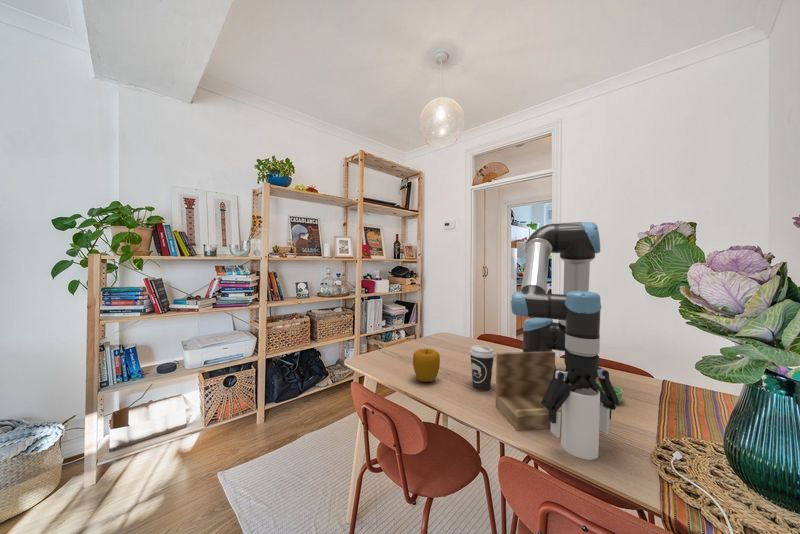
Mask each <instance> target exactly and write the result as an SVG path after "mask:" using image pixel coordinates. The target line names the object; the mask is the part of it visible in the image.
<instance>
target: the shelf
mask: <svg viewBox="0 0 800 534" xmlns="http://www.w3.org/2000/svg"><path fill="white" fill-rule="evenodd" d="M495 360H496V369H495V370H496V371H495V372H496V373H495V407H496V408H497V410H498V411H499V412H500V413H501V414H502V415H503V417H505V419H506V420H507V421H508V422H509V423H510V424H511V426H512V427H513V428H514V429H515V431H527V430H528V431H531V430H542V429H544V430H545V429H551V422H550V421H549V419H548V412H549V410H548V409H547V408H545V407H544V406H543V405H542V404H541V401H542V399H543V397H544V395H545V393H546V391H547V389H548V387H549V385H550V383H551V380H552V378H553V372H554V370H555V367H556V352H555V351H554V350H552V351H540V352H523V351H515V352H513V351H512V352H496V359H495ZM554 405H555V404H554ZM558 410H559V411H560V412H561V424H560V428H561V425H562V406H561V407H560V408H559V409H558Z"/></svg>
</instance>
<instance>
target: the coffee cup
mask: <svg viewBox="0 0 800 534" xmlns="http://www.w3.org/2000/svg"><path fill="white" fill-rule="evenodd" d="M468 354H469V355H470V364H471V365H470V367H471V377H472V378H471V380H472V381H471V382H472V388H473V389H475V390H477V391H481V392H487V391H490V390H491V384H492V375H493V367H494V358H495V356H496V354H495V351H494V349H493V348H492V347H490V346H487V345H482V344H481V345H479V344H477V345H473V346H471V347H470V349H469V351H468Z"/></svg>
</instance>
